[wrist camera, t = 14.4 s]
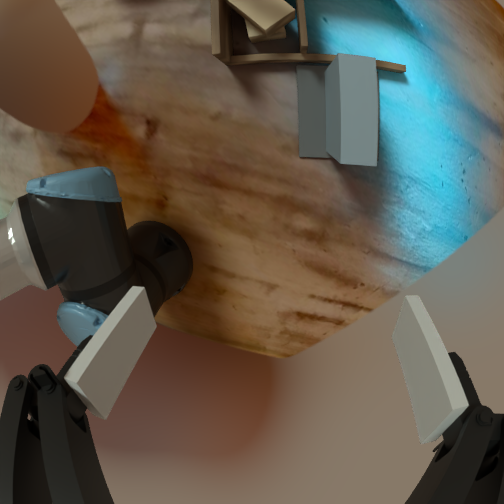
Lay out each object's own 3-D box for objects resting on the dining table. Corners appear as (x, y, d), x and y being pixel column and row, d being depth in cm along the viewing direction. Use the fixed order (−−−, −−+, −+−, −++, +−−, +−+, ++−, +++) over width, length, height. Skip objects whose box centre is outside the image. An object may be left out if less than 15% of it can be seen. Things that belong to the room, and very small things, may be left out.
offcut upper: (267, 37, 28) (265, 30, 25) (228, 5, 26) (222, -4, 23) (295, 18, 26) (295, 9, 23) (255, -13, 24) (251, -24, 21)
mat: (299, 156, 38) (299, 156, 38) (296, 65, 32) (296, 64, 32) (377, 160, 37) (378, 161, 36) (377, 71, 30) (377, 71, 30)
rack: (226, 65, 33) (212, 54, 26) (223, -13, 26) (210, -34, 19) (401, 73, 29) (423, 65, 22) (390, -6, 23) (407, -24, 16)
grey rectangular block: (326, 151, 37) (340, 163, 26) (324, 72, 31) (338, 53, 21) (352, 152, 36) (376, 166, 26) (351, 74, 31) (375, 58, 20)
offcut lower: (252, 43, 31) (248, 37, 28) (242, 2, 28) (238, -6, 25) (286, 38, 30) (285, 31, 27) (275, -3, 27) (274, -12, 24)
